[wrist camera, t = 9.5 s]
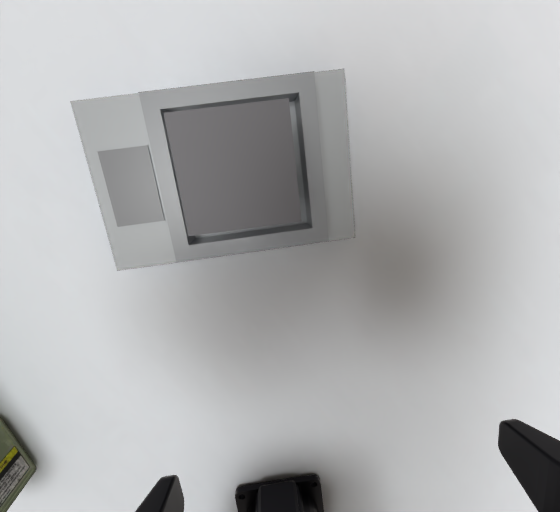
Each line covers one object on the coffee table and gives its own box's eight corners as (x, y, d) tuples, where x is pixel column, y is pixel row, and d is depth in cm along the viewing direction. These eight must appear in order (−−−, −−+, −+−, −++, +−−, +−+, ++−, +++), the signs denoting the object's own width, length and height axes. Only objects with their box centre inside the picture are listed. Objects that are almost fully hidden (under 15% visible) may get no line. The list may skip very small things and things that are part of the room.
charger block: (288, 207, 18) (301, 221, 12) (209, 217, 17) (188, 236, 12) (278, 121, 16) (288, 95, 11) (193, 131, 16) (163, 110, 11)
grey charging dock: (350, 234, 19) (365, 244, 17) (124, 266, 19) (102, 281, 16) (339, 74, 17) (354, 55, 14) (81, 105, 16) (46, 91, 14)
